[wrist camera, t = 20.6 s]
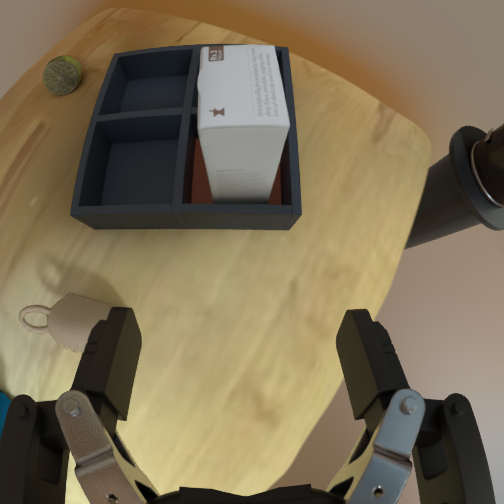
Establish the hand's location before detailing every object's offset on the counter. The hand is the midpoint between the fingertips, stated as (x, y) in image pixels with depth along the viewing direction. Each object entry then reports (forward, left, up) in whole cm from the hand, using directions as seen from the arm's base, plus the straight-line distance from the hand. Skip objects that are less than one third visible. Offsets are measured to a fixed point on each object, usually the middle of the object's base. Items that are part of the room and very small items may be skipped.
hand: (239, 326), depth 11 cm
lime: (+21, -25, -13) cm, 35 cm away
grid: (+4, -15, -13) cm, 20 cm away
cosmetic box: (0, -11, -12) cm, 16 cm away
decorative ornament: (+13, +1, -13) cm, 18 cm away
